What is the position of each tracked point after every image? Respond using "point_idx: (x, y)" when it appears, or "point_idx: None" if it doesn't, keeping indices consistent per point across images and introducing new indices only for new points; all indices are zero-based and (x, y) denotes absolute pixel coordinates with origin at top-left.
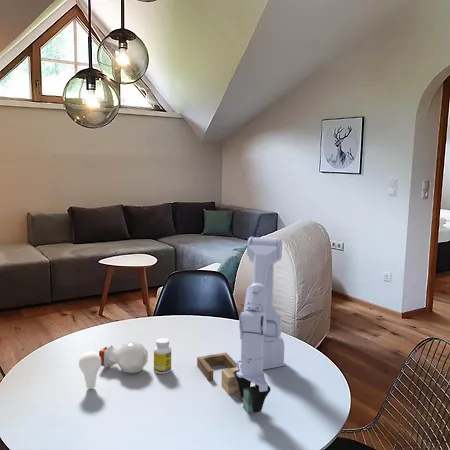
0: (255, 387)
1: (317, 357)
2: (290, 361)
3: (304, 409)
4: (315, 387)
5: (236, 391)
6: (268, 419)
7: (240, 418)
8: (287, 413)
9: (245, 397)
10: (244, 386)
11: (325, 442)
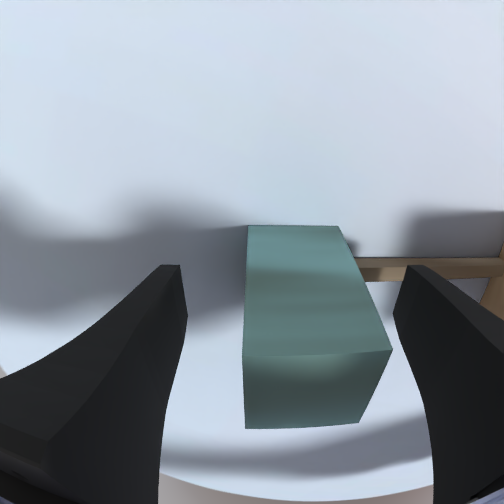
0: (59, 495)
1: (423, 484)
2: None
3: (198, 436)
4: (313, 477)
5: (497, 267)
6: None
7: (208, 145)
8: (185, 394)
9: (318, 296)
10: (443, 355)
11: None
